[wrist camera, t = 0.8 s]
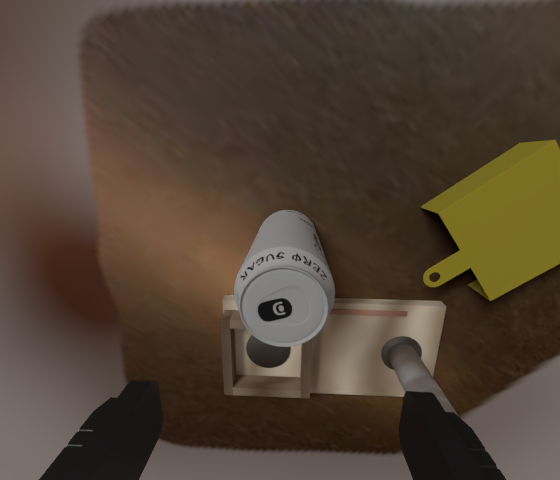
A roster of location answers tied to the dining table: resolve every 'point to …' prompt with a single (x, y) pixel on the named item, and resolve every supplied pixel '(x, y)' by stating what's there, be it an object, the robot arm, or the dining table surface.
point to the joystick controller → (340, 352)
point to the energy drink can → (285, 282)
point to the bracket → (503, 220)
